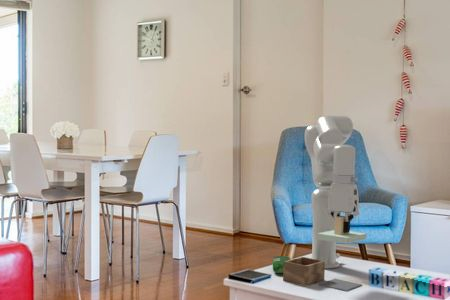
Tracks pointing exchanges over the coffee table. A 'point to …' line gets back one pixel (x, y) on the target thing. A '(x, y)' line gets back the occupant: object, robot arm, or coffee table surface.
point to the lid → (341, 233)
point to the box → (303, 271)
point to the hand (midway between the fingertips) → (342, 231)
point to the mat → (340, 284)
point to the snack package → (279, 263)
